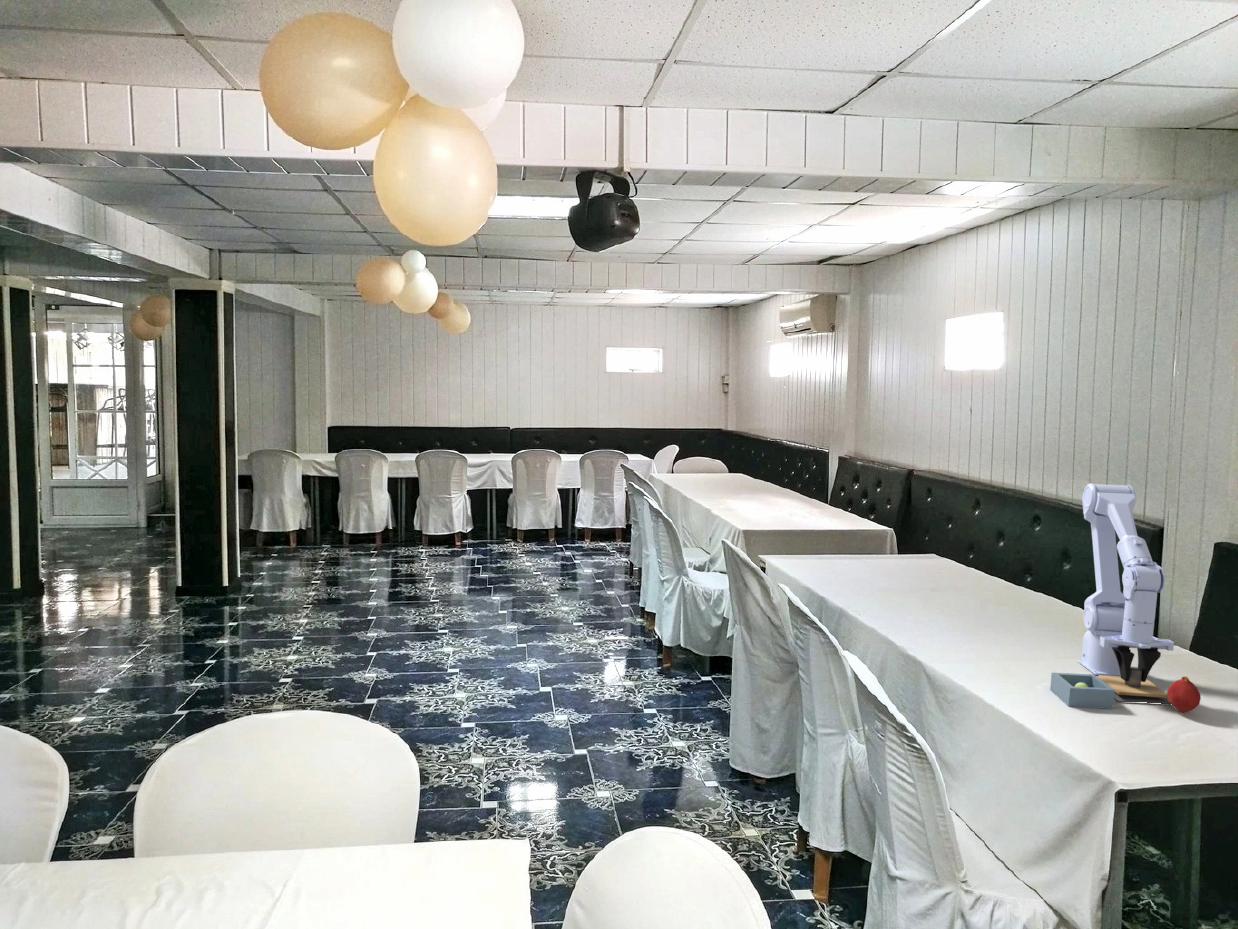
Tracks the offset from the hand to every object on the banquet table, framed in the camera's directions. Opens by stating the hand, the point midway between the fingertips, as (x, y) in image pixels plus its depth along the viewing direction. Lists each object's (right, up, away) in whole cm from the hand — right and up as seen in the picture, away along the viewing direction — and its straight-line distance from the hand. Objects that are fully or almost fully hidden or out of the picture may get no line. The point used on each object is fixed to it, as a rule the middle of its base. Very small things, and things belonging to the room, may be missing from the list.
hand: (1132, 680), depth 186 cm
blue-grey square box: (-13, -3, -4) cm, 14 cm away
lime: (-13, -1, -4) cm, 14 cm away
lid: (0, -2, 0) cm, 2 cm away
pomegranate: (+4, -5, -10) cm, 12 cm away
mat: (0, -3, 0) cm, 3 cm away
